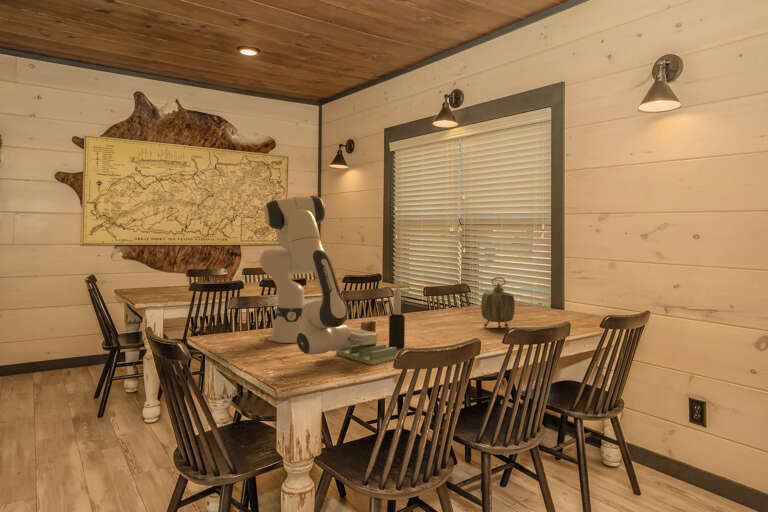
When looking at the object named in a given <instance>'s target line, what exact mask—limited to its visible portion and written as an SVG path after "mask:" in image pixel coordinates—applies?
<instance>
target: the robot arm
mask: <svg viewBox="0 0 768 512" xmlns="http://www.w3.org/2000/svg"><path fill="white" fill-rule="evenodd" d="M325 215H326V207H325V204H324V202H323V199H322V198H321V197H319V196H317V195H310V196H293V197H289V198H283V199H278V200H277V199H274V200H270V201H269V202H267V203H266V205H265V209H264V219H265V222H266V223H267V225H268V226H269V227H270V228H271V229H272V230H273V229H274V230H276V238H277V239H276V240H277V242H278V244H279V245H280V246H281V247H274V248H269V249H265V250H264V251H262V253H261V254H260V257H259V265H260V268H261V270H262V271H263V272H264V273H265V274H267V275H268V276H269V277H270V278H271V280H272V281H273V283H274V284H275V287H276V292H277V306H276V318H275V319H274V320H273V321H272V334H271V335H270V336H269V337H268V338H267V341H270V342H275V343H276V342H277V343H282V344H284V343H285V344H293V343H297V347H298V348H299V351H301V352H302V353H303V354H306V355H320V354H326V353H328V352H336V351H338V350H343V349H347V348H348V347H349V346H350V344H351V343H354V344H357V345H369V344H375V343H376V344H377V343H378V333H377V332H376V330H375V331H366V330H361V328H356V327H352V326H349V325H347V324H345V322H346V320H347V317H348V312H349V309H348V306H347V303H346V300H345V298H344V297H343V295H342V293H341V290H340V287H339V284H338V281H337V277H336V274H335V270H334V268H333V265H332V264H333V263H332V262H331V258H330V257H329V255H328V253H327V252H325V249H324V247H323V245H322V244H323V243H322V240H321V235H320V231H319V226H318V224H320V223H322V222H323V221H324V219H325ZM313 273H314V274H315V277H316V280H317V284H318V286H319V290H320V294H321V299H318V300H314V301H311V302H310V301H309V302H306V304H305V289H304V287H303V285H302V284H300V283H298V282H296V281H294V280H292V279H291V277H290V275H307V274H308V275H309V274H313Z"/></svg>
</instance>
